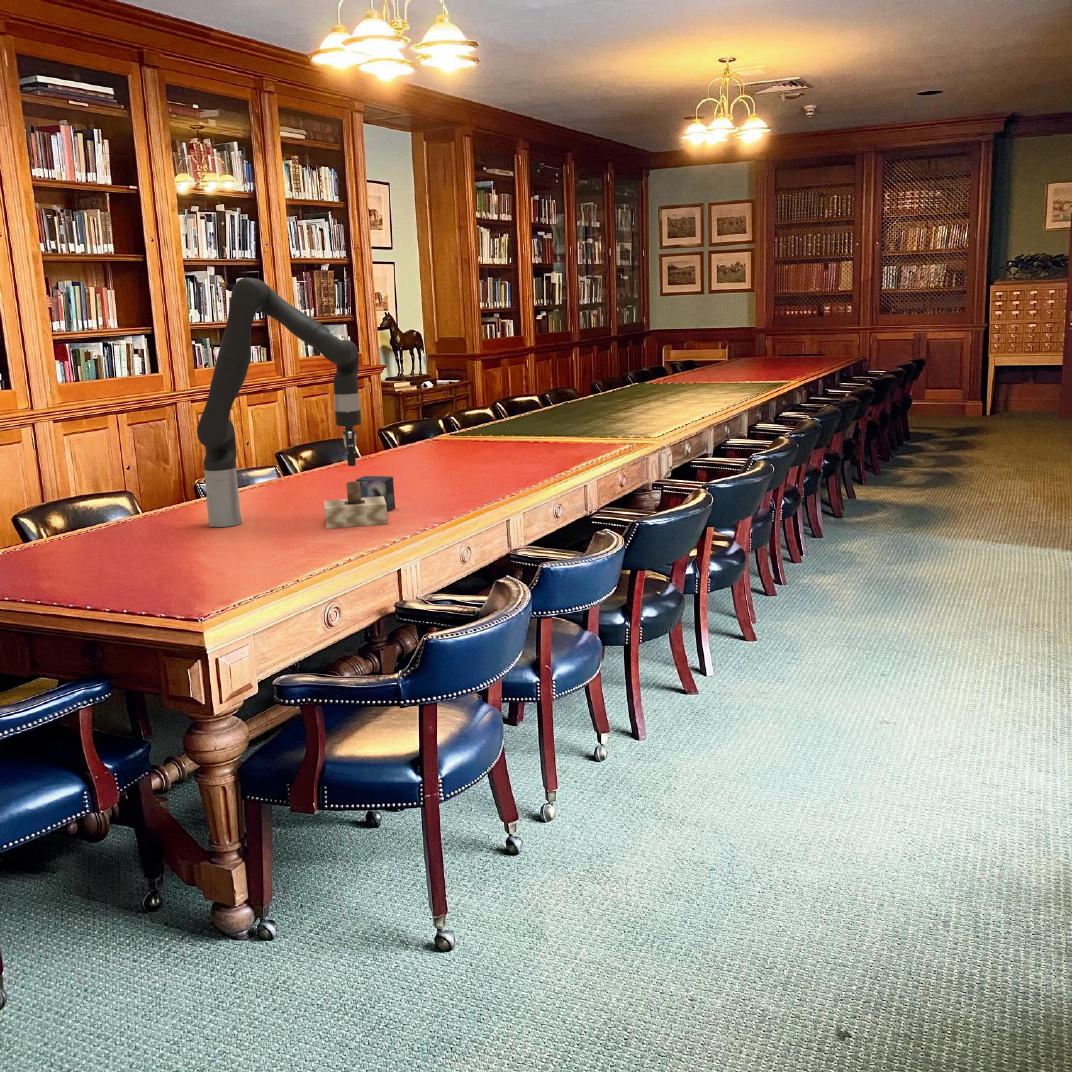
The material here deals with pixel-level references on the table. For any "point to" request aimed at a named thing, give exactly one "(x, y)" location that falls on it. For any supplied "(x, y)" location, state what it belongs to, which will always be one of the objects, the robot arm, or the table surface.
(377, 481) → the small box
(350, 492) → the peg
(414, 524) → the table surface
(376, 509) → the seat board
